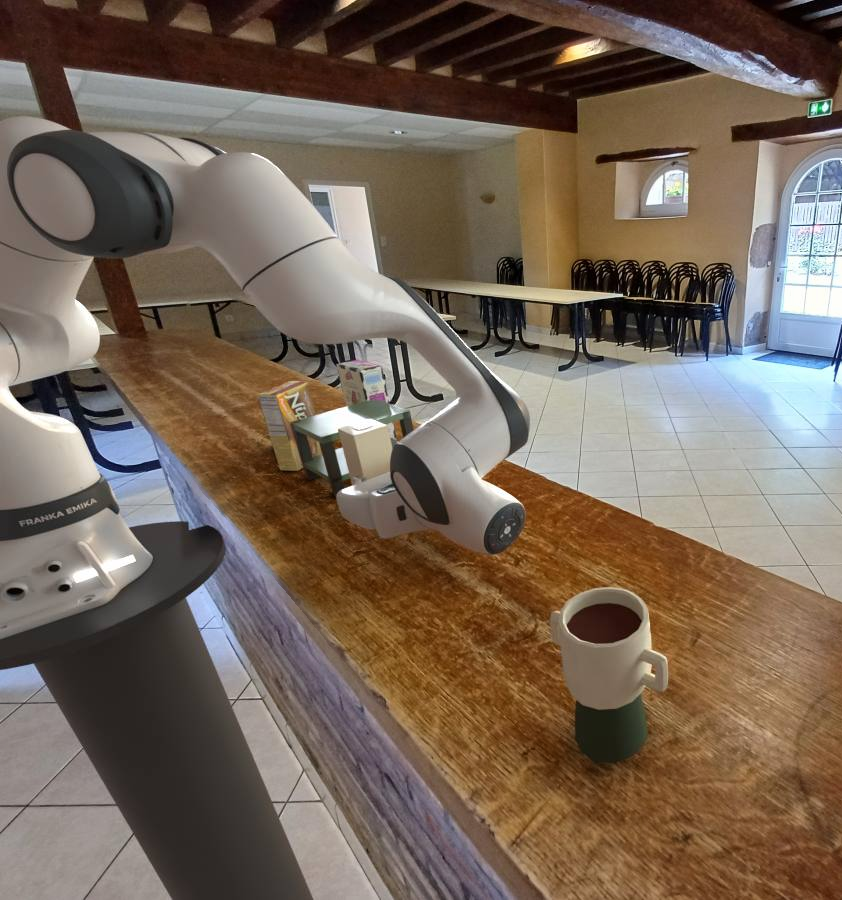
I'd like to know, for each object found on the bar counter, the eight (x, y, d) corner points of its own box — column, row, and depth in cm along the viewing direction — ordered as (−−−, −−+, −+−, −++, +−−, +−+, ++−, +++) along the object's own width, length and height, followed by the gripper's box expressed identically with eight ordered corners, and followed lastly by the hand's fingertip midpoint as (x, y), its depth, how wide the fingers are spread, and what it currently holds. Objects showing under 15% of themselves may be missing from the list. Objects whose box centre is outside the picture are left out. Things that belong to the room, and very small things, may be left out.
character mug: (687, 733, 47) (688, 611, 42) (646, 802, 42) (642, 672, 37) (583, 683, 53) (574, 570, 48) (536, 738, 48) (519, 617, 43)
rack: (337, 497, 93) (321, 437, 89) (306, 478, 102) (289, 422, 97) (420, 465, 104) (409, 410, 100) (386, 450, 112) (375, 398, 108)
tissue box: (372, 511, 88) (353, 434, 83) (356, 501, 92) (337, 427, 86) (403, 498, 92) (387, 424, 87) (386, 489, 95) (370, 417, 90)
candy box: (308, 453, 113) (288, 380, 107) (327, 453, 113) (307, 380, 107) (279, 471, 105) (255, 394, 99) (299, 471, 105) (276, 394, 99)
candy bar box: (399, 440, 117) (383, 364, 111) (377, 448, 114) (359, 370, 108) (373, 430, 124) (357, 358, 118) (352, 436, 121) (334, 363, 115)
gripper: (491, 449, 83) (440, 431, 92) (361, 502, 69) (315, 474, 78) (496, 487, 85) (446, 465, 94) (372, 545, 71) (326, 513, 80)
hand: (385, 470), depth 86 cm, fingers open, 8 cm apart
